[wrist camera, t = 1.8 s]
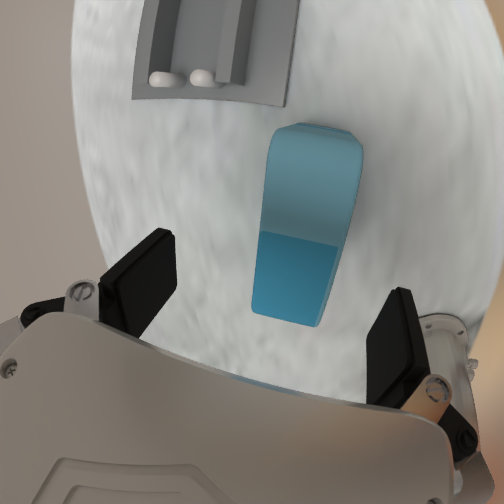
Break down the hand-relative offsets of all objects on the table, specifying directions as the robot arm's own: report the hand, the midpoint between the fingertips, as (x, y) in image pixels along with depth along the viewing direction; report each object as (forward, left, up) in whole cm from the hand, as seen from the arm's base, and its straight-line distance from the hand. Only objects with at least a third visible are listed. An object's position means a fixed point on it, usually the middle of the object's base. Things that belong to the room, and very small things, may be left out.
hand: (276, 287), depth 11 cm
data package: (0, 0, -16) cm, 16 cm away
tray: (+12, -16, -16) cm, 25 cm away
